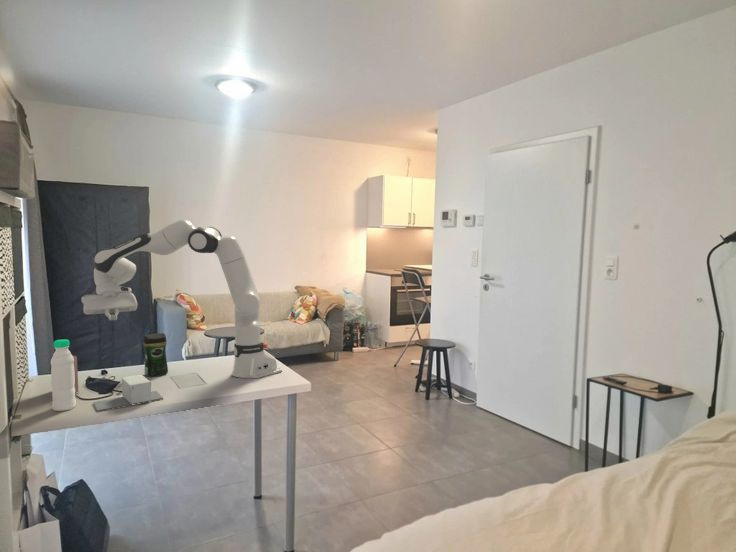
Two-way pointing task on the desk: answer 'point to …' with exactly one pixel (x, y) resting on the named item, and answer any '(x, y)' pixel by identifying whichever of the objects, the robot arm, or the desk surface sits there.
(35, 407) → the desk surface
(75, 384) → the greeting card
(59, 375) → the water bottle
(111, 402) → the mat
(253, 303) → the robot arm
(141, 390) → the supplement box
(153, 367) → the coffee jar
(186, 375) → the desk surface
